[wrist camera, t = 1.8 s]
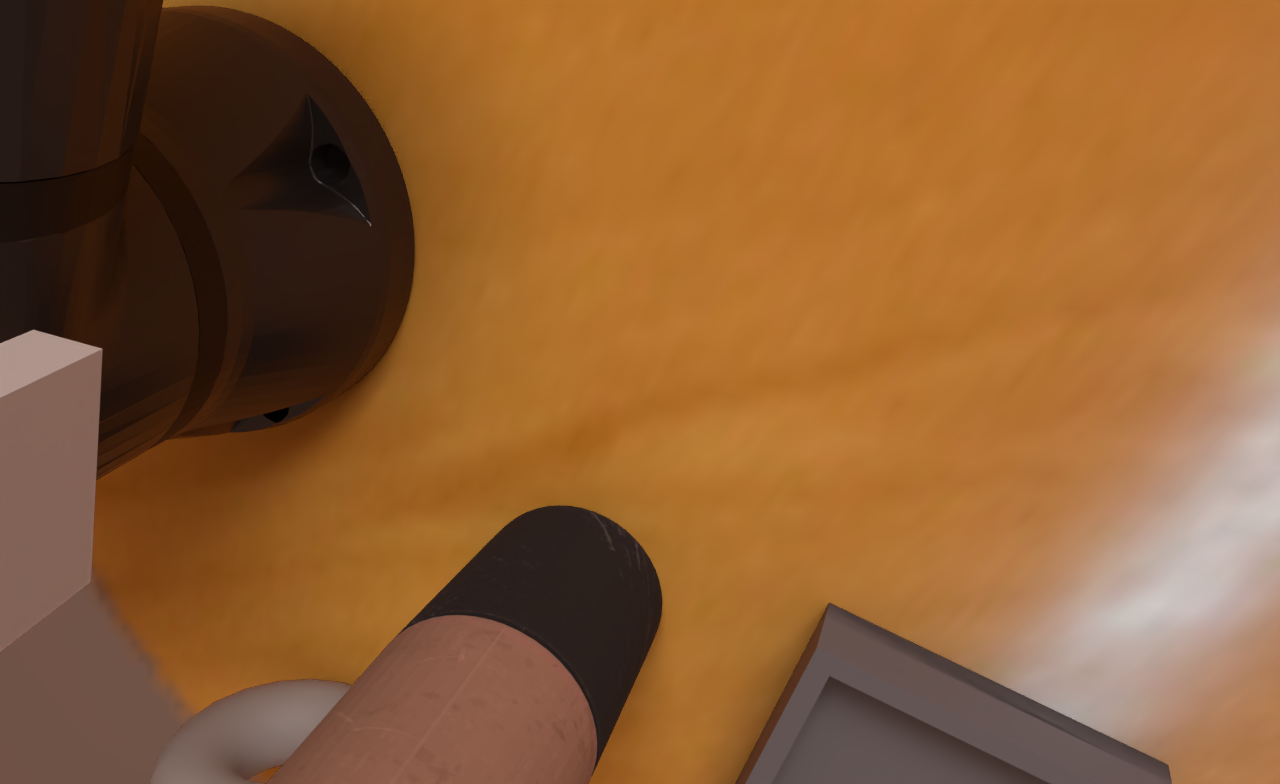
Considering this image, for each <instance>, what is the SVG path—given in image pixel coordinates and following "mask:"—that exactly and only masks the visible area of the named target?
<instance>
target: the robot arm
mask: <svg viewBox="0 0 1280 784" xmlns="http://www.w3.org/2000/svg"><path fill="white" fill-rule="evenodd" d="M162 4H163V0H0V652H1V651H2V650H4V649H5V648H6V647H7V646H9V645H10V644H11V643H13V642H14V641H15V640H17V639H18V638H19V637H20V636H22V635H23V634H24V633H25V632H27V631H28V630H29V629H31V628H32V627H33V626H35V625H36V624H37V623H39V622H40V621H41V620H43V619H44V618H45V617H46V616H48V615H49V614H50V613H52V612H53V611H54V610H55V609H57V608H58V607H59V606H61V605H62V604H63V603H64V602H66V601H67V600H68V599H70V598H71V597H72V596H74V595H75V594H76V593H77V592H79V591H80V590H81V589H83V588H84V587H85V586H86V585H88V584H89V583H90V582H91V571H92V551H93V531H94V511H95V491H96V480H98V479H99V478H101V477H103V476H104V475H106V474H108V473H109V472H111V471H113V470H114V469H116V468H118V467H119V466H121V465H123V464H125V463H126V462H128V461H130V460H132V459H133V458H135V457H137V456H139V455H140V454H142V453H144V452H145V451H147V450H149V449H150V448H152V447H154V446H156V445H158V444H159V443H161V442H163V441H165V440H169V439H179V438H189V437H198V436H208V435H218V434H225V433H229V432H246V431H254V430H262V429H267V428H272V427H276V426H279V425H283V424H286V423H288V422H291V421H294V420H296V419H299V418H301V417H303V416H305V415H307V414H309V413H311V412H313V411H315V410H317V409H318V408H320V407H321V406H323V405H325V404H326V403H328V402H329V401H331V400H332V399H334V398H335V397H337V396H338V395H340V394H342V393H343V392H345V391H346V390H348V389H349V388H350V387H352V386H353V385H354V384H356V383H357V382H358V381H359V380H361V379H362V378H363V377H364V376H365V375H366V374H367V373H368V372H369V371H370V370H371V369H372V368H373V367H374V366H375V364H376V363H377V362H378V361H379V359H380V358H381V357H382V355H383V354H384V353H385V351H386V350H387V348H388V346H389V345H390V343H391V341H392V340H393V338H394V336H395V334H396V332H397V330H398V327H399V325H400V323H401V320H402V318H403V315H404V312H405V309H406V306H407V302H408V298H409V294H410V289H411V283H412V277H413V268H414V229H413V220H412V213H411V207H410V202H409V197H408V193H407V189H406V185H405V181H404V178H403V175H402V172H401V169H400V166H399V164H398V161H397V158H396V156H395V153H394V151H393V149H392V147H391V144H390V142H389V140H388V138H387V136H386V134H385V132H384V130H383V129H382V127H381V125H380V123H379V121H378V120H377V118H376V117H375V115H374V113H373V112H372V110H371V109H370V107H369V106H368V104H367V103H366V101H365V100H364V99H363V97H362V96H361V95H360V93H359V92H358V91H357V90H356V88H355V87H354V86H353V85H352V84H351V82H350V81H349V80H348V79H347V78H346V77H345V76H344V75H343V74H342V73H341V71H340V70H339V69H338V68H337V67H336V66H335V65H334V64H332V63H331V62H330V61H329V60H328V59H327V58H326V57H325V56H324V55H322V54H321V53H320V52H319V51H317V50H316V49H315V48H314V47H312V46H311V45H310V44H308V43H307V42H305V41H304V40H302V39H301V38H300V37H298V36H296V35H295V34H293V33H291V32H290V31H288V30H286V29H284V28H283V27H281V26H278V25H276V24H274V23H272V22H270V21H268V20H265V19H263V18H260V17H258V16H255V15H252V14H249V13H245V12H242V11H238V10H233V9H229V8H222V7H214V6H185V7H169V8H162Z"/></svg>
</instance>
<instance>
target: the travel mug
mask: <svg viewBox="0 0 1280 784" xmlns="http://www.w3.org/2000/svg"><path fill="white" fill-rule="evenodd" d="M661 611H662V595H661V588H660V583H659V579H658V576H657V573H656V570H655V568H654V566H653V564H652V562H651V560H650V558H649V557H648V555H647V554H646V552H645V551H644V549H643V548H642V547H641V546H640V544H639V543H638V542H637V541H636V540H635V539H634V538H633V537H632V536H631V535H630V534H629V533H628V532H627V531H626V530H625V529H623V528H622V527H621V526H619V525H618V524H617V523H615V522H613V521H611V520H610V519H608V518H606V517H604V516H602V515H600V514H598V513H595V512H593V511H590V510H586V509H583V508H578V507H573V506H547V507H542V508H538V509H535V510H532V511H529V512H526V513H524V514H522V515H521V516H519V517H517V518H515V519H514V520H513V521H511V522H510V523H509V524H507V525H506V526H505V527H504V528H503V529H502V530H501V531H500V532H499V533H498V534H497V535H496V536H495V537H494V538H493V539H491V540H490V541H489V542H488V543H487V545H486V546H485V547H484V548H483V549H482V550H481V551H480V552H479V553H478V554H477V555H476V556H475V557H474V558H473V559H472V560H471V561H470V562H469V563H468V564H467V565H466V566H465V567H464V568H463V569H462V570H461V571H460V572H459V573H458V574H457V575H456V576H455V577H454V578H453V579H452V580H451V581H450V582H449V583H448V584H447V585H446V586H445V587H444V588H443V589H442V590H441V591H440V592H439V593H438V594H437V595H436V596H435V597H434V598H433V599H432V600H431V601H430V602H429V603H428V604H427V605H426V606H425V607H424V609H423V610H422V611H421V612H420V613H419V614H418V615H417V616H416V617H415V618H414V619H413V620H412V621H411V622H410V623H409V624H408V625H407V626H406V627H405V628H404V629H403V630H402V631H401V632H400V633H399V634H398V635H397V636H396V637H395V638H394V639H393V640H392V641H391V642H390V643H389V644H388V645H387V646H386V648H385V649H384V650H383V651H382V652H381V653H380V654H379V656H378V657H377V658H376V659H375V660H374V661H373V662H372V664H371V665H370V666H369V667H368V668H367V669H366V670H365V672H364V673H363V674H362V675H361V676H360V677H359V678H358V680H357V681H356V682H355V683H354V684H353V685H352V686H351V688H350V689H349V690H348V691H347V692H346V693H345V694H344V695H343V697H342V698H341V699H340V700H339V701H338V702H337V703H336V705H335V706H334V707H333V708H332V709H331V710H330V711H329V713H328V714H327V715H326V716H325V717H324V718H323V719H322V721H321V722H320V723H319V724H318V725H317V726H316V727H315V729H314V730H313V731H312V732H311V733H310V734H309V735H308V737H307V738H306V739H305V740H304V741H303V742H302V743H301V745H300V746H299V747H298V748H297V749H296V750H295V751H294V752H293V754H292V755H291V756H290V757H289V758H288V759H287V760H286V762H285V763H284V764H283V765H282V766H281V767H280V768H279V770H278V771H277V772H276V773H275V774H274V775H273V776H272V778H271V779H270V780H269V781H268V782H267V783H266V784H588V783H589V781H590V778H591V776H592V775H593V773H594V770H595V768H596V766H597V764H598V762H599V759H600V757H601V755H602V753H603V751H604V748H605V746H606V744H607V742H608V740H609V737H610V735H611V733H612V731H613V729H614V726H615V724H616V722H617V720H618V718H619V715H620V713H621V711H622V709H623V707H624V704H625V702H626V700H627V698H628V695H629V693H630V691H631V689H632V687H633V684H634V682H635V680H636V678H637V676H638V673H639V671H640V669H641V667H642V665H643V662H644V660H645V658H646V656H647V653H648V651H649V649H650V646H651V644H652V642H653V639H654V637H655V634H656V632H657V629H658V626H659V622H660V618H661Z"/></svg>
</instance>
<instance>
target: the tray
mask: <svg viewBox="0 0 1280 784" xmlns="http://www.w3.org/2000/svg"><path fill="white" fill-rule="evenodd" d="M735 784H1172V781H1171V776H1170V771H1169V766H1168V765H1167V764H1165V763H1163V762H1161V761H1159V760H1157V759H1155V758H1152V757H1150V756H1148V755H1146V754H1144V753H1142V752H1140V751H1138V750H1136V749H1134V748H1132V747H1129V746H1127V745H1125V744H1123V743H1121V742H1119V741H1117V740H1115V739H1113V738H1111V737H1109V736H1107V735H1104V734H1102V733H1100V732H1098V731H1096V730H1094V729H1092V728H1090V727H1088V726H1086V725H1084V724H1081V723H1079V722H1077V721H1075V720H1073V719H1071V718H1069V717H1067V716H1065V715H1063V714H1061V713H1058V712H1056V711H1054V710H1052V709H1050V708H1048V707H1046V706H1044V705H1042V704H1040V703H1038V702H1036V701H1033V700H1031V699H1029V698H1027V697H1025V696H1023V695H1021V694H1019V693H1017V692H1015V691H1013V690H1010V689H1008V688H1006V687H1004V686H1002V685H1000V684H998V683H996V682H994V681H992V680H990V679H988V678H985V677H983V676H981V675H979V674H977V673H975V672H973V671H971V670H969V669H967V668H965V667H962V666H960V665H958V664H956V663H954V662H952V661H950V660H948V659H946V658H944V657H942V656H940V655H937V654H935V653H933V652H931V651H929V650H927V649H925V648H923V647H921V646H919V645H917V644H914V643H912V642H910V641H908V640H906V639H904V638H902V637H900V636H898V635H896V634H894V633H892V632H889V631H887V630H885V629H883V628H881V627H879V626H877V625H875V624H873V623H871V622H869V621H866V620H864V619H862V618H860V617H858V616H856V615H854V614H852V613H850V612H848V611H846V610H844V609H841V608H839V607H837V606H835V605H833V604H831V603H829V604H828V606H827V608H826V610H825V612H824V614H823V616H822V618H821V620H820V622H819V624H818V626H817V628H816V629H815V631H814V633H813V635H812V637H811V639H810V641H809V643H808V645H807V647H806V649H805V651H804V653H803V654H802V656H801V658H800V660H799V662H798V664H797V666H796V668H795V670H794V672H793V674H792V676H791V678H790V679H789V681H788V683H787V685H786V687H785V689H784V691H783V693H782V695H781V697H780V699H779V701H778V703H777V704H776V706H775V708H774V710H773V712H772V714H771V716H770V718H769V720H768V722H767V724H766V726H765V728H764V729H763V731H762V733H761V735H760V737H759V739H758V741H757V743H756V745H755V747H754V749H753V751H752V752H751V754H750V756H749V758H748V760H747V762H746V764H745V766H744V768H743V770H742V772H741V774H740V776H739V777H738V779H737V781H736V783H735Z"/></svg>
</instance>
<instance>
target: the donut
mask: <svg viewBox="0 0 1280 784" xmlns="http://www.w3.org/2000/svg"><path fill="white" fill-rule="evenodd" d="M351 686H352V685H349V684H347V683H343V682H335V681H327V680H318V679H302V680H286V681H276V682H272V683H268V684H264V685H259V686H255V687H251V688H246V689H244V690H241V691H239V692H237V693H234V694H232V695H229V696H227V697H225V698H222V699H220V700H218V701H215V702H214V703H212V704H211V705H209V706H208V707H206V708H205V709H204V710H202V711H201V712H199V713H198V714H196V715H195V716H193V717H192V718H191V719H189V720H188V721H187V722H185V723H184V724H183V725H182V726H181V727H180V728H179V729H178V731H177V732H176V733H175V734H174V735H173V737H172V738H171V739H170V740H169V741H168V743H167V744H166V745H165V746H164V748H163V749H162V751H161V753H160V755H159V756H158V758H157V762H156V765H155V768H154V771H153V775H152V778H151V781H150V784H266V783H258V782H252V781H249V780H248V779H250V778H251V777H252V776H254V775H256V774H258V773H260V772H262V771H264V770H267V769H270V768H273V767H277V766H281V765H283V764H284V763H285V762H286V760H287V759H288V758H289V757H290V756H291V755H292V754H293V752H294V751H295V750H296V749H297V748H298V747H299V746H300V745H301V743H302V742H303V741H304V740H305V739H306V738H307V737H308V735H309V734H310V733H311V732H312V731H313V730H314V729H315V727H316V726H317V725H318V724H319V723H320V722H321V721H322V719H323V718H324V717H325V716H326V715H327V714H328V713H329V711H330V710H331V709H332V708H333V707H334V706H335V705H336V703H337V702H338V701H339V700H340V699H341V698H342V697H343V695H344V694H345V693H346V692H347V691H348V690H349V689H350V688H351Z"/></svg>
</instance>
